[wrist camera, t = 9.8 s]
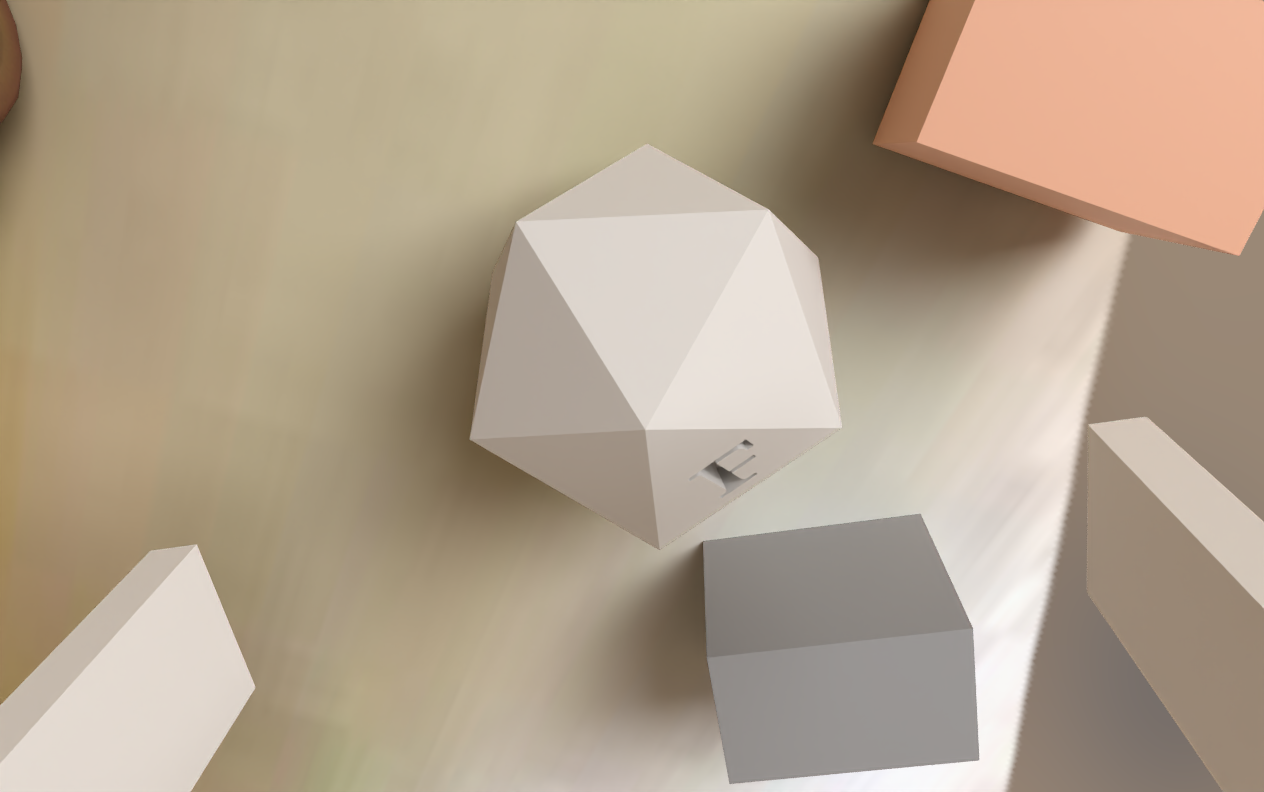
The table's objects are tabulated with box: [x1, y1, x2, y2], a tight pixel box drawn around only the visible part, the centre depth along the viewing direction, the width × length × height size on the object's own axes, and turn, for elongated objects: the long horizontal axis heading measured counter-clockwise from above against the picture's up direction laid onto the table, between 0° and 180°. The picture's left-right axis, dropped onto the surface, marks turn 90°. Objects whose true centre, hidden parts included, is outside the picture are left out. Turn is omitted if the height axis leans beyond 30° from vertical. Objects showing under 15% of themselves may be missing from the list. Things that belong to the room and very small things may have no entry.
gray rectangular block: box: [703, 514, 979, 784], centre depth 28 cm, size 4×7×6 cm, turn 100°
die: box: [470, 144, 842, 550], centre depth 23 cm, size 8×9×10 cm
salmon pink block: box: [873, 0, 1264, 256], centre depth 21 cm, size 7×4×6 cm, turn 72°
